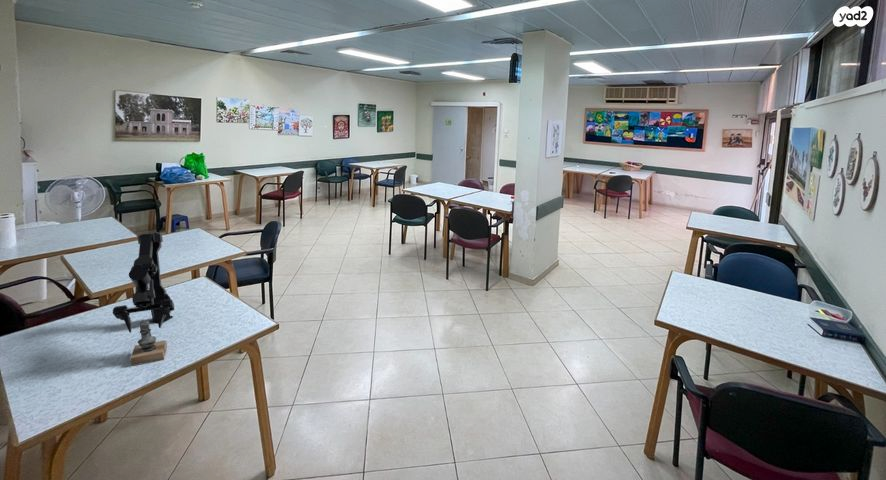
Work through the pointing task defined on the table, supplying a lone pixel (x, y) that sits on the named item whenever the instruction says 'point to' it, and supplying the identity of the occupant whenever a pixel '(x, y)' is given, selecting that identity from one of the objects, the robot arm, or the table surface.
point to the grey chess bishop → (146, 338)
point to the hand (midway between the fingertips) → (144, 329)
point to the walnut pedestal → (148, 354)
